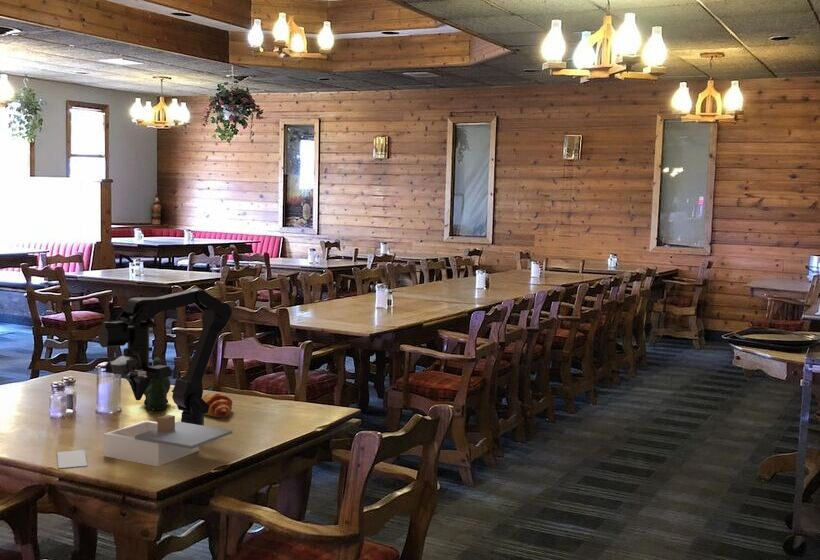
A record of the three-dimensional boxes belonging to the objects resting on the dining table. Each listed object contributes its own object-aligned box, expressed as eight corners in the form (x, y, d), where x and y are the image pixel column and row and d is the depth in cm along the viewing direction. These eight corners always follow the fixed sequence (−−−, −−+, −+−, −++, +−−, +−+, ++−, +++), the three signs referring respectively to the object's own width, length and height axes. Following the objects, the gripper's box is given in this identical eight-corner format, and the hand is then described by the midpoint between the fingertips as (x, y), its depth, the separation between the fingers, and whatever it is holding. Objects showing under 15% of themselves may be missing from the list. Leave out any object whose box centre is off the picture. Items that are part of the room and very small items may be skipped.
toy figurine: (172, 420, 270) (169, 395, 293) (173, 362, 266) (169, 341, 290) (141, 422, 267) (140, 396, 290) (141, 363, 264) (140, 342, 287)
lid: (178, 424, 235) (178, 408, 235) (232, 433, 228) (232, 417, 228) (134, 438, 220) (134, 422, 220) (191, 449, 213) (191, 432, 212)
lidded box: (146, 441, 240) (146, 420, 240) (198, 450, 233) (198, 429, 232) (103, 456, 226) (103, 433, 225) (158, 466, 218) (158, 443, 218)
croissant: (198, 416, 283) (186, 396, 280) (224, 400, 287) (213, 380, 284) (217, 431, 264) (205, 409, 262) (245, 413, 268) (233, 391, 266)
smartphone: (58, 468, 214) (56, 451, 228) (58, 470, 214) (56, 453, 228) (88, 465, 217) (84, 449, 230) (88, 468, 217) (84, 451, 230)
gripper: (90, 344, 233) (90, 401, 234) (144, 351, 225) (144, 410, 226) (120, 339, 243) (120, 394, 244) (173, 345, 235) (172, 402, 237)
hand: (138, 400), depth 238 cm, fingers closed
